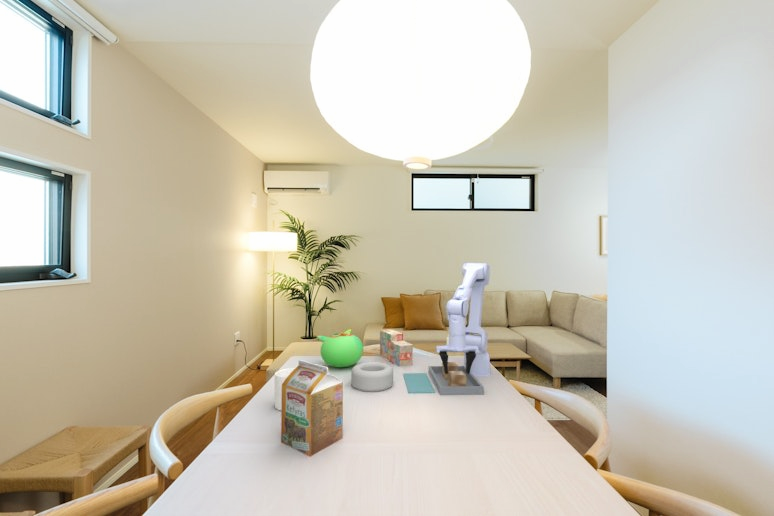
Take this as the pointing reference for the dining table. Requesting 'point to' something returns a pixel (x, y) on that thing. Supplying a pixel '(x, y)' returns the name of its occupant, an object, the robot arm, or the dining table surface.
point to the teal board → (418, 383)
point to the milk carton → (311, 409)
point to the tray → (444, 389)
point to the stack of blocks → (395, 348)
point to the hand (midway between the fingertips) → (456, 372)
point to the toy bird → (341, 349)
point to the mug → (280, 385)
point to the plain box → (449, 368)
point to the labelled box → (456, 378)
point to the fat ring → (372, 376)
